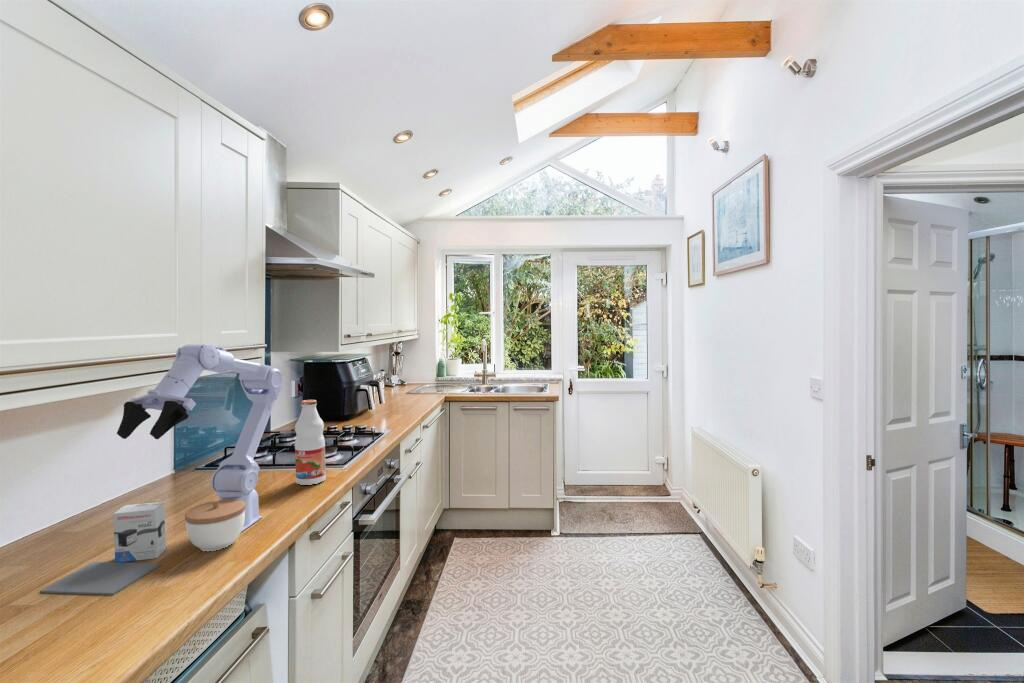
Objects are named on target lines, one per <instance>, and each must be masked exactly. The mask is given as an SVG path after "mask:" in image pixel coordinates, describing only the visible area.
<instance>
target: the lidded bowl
mask: <svg viewBox="0 0 1024 683" xmlns="http://www.w3.org/2000/svg"><path fill="white" fill-rule="evenodd" d="M184 519H185V528H186V533H187V537H188V539H189V541H190V542H191V544H192V545H193V546H195V547H196V548H198V549H199V550H200V551H201V550H202V552H205V551H207V553H208V552H209V551H211V552H216V550H217V551H220V549H221V550H223V549H222V548H224V549H226V548H229V547H230V546H232V545H233V544H234V543H233V542H235V540H236V539H237V538H239V536H240V535H241V533H242V532H243V531H242V529H243V526H244V522H245V502H244V501H242V500H238V499H223V500H219V499H214V500H211V501H208V502H204V503H201V504H198V505H196V506H193V507H191V508H190V509H188V510H187V511H186V512H185V513H184ZM241 531H242V532H241ZM231 544H232V545H231ZM229 545H230V546H229ZM228 546H229V547H228ZM225 547H226V548H225Z"/></svg>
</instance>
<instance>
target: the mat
mask: <svg viewBox="0 0 1024 683" xmlns="http://www.w3.org/2000/svg"><path fill="white" fill-rule="evenodd" d="M160 566H161V563H155V562H154V563H153V562H151V563H149V562H146V563H145V562H144V563H143V562H122V563H117V562H115V561H114V562H113V561H111V562H110V561H93V562H91V563H89V564H87V565H85V566H83V567H82V568H80V569H78V570H75V571H74V572H72V573H70V574H68V575H66V576H64V577H63V578H61V579H59V580H57V581H55V582H53V583H52V584H50V585H48V586H46V587H44V588H42V589H41V590H39V593H40V592H42V593H41V594H70V595H71V594H72V595H74V594H75V595H98V596H99V595H103V596H105V595H106V596H115V595H116V594H118V593H120V592H121V591H122V590H124V589H126V588H127V587H128V586H130V585H132V584H134V583H135V582H136V581H138V580H140V579H141V578H143V577H144V576H146V575H148V574H149V573H151V572H152V571H154V570H156V569H157V568H158V567H160ZM44 592H45V593H44ZM48 592H49V593H48Z"/></svg>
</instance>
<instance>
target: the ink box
mask: <svg viewBox="0 0 1024 683" xmlns="http://www.w3.org/2000/svg"><path fill="white" fill-rule="evenodd" d="M165 514H166V513H165V502H163V501H159V502H158V501H157V502H145V503H144V502H143V503H135V504H125V505H124V506H122V507H120V508H119V509H117V510H116V511H114V512H113V513H112V520H113V522H112V523H113V524H112V525H113V542H114V562H117V563H131V562H137V561H144V560H150V559H151V560H153V559H158V558H159V557H160V556H161V555H162V554H163V553H164V552H165V551H166V550H167V542H166V541H167V540H166V539H167V538H166V519H165V518H166V517H165V516H166V515H165Z"/></svg>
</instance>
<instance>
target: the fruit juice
mask: <svg viewBox="0 0 1024 683" xmlns="http://www.w3.org/2000/svg"><path fill="white" fill-rule="evenodd" d="M317 404H318V402H317V400H316V399H306V400H305V399H304V400H301V401H300V406H301V407H302V408H301V412H300V414H299V418H298V420H297V421H296V423H295V425H294V430H295V431H294V432H295V434H296V438H295V441H294V452H295V453H294V454H295V456H294V457H295V458H294V459H295V461H294V462H295V482H296V485H298V484H300V485H310V484H315V483H319V482H322V481H324V480H325V481H326V479H327V478H326V477H327V473H326V470H327V469H326V468H327V467H326V440H325V437H324V433H323V432H324V429H325V423H324V421H323V419H322V418H321V417H320V414H319V412H318V410H317ZM325 481H324V482H325ZM322 483H323V482H322ZM300 485H299V486H300Z"/></svg>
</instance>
